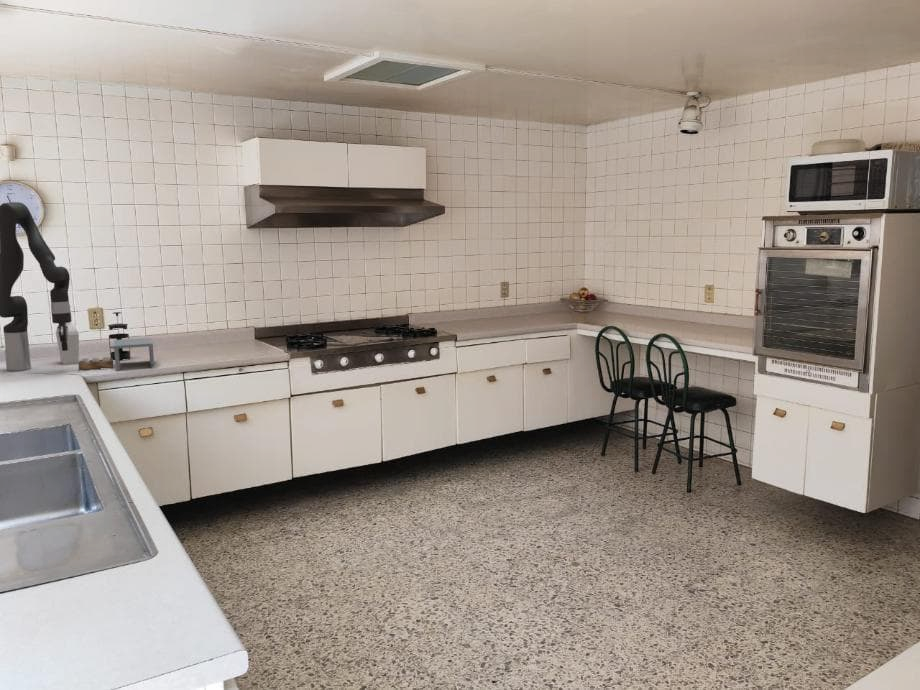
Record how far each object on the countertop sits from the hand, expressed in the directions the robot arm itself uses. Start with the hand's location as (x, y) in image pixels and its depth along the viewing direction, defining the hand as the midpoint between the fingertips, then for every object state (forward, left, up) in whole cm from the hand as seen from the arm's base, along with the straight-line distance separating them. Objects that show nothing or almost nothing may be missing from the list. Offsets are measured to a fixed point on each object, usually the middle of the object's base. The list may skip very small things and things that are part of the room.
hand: (65, 350), depth 329 cm
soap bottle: (-1, +24, -10) cm, 25 cm away
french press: (+22, +24, -10) cm, 34 cm away
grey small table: (+28, +1, -9) cm, 30 cm away
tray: (+12, +1, -9) cm, 15 cm away
